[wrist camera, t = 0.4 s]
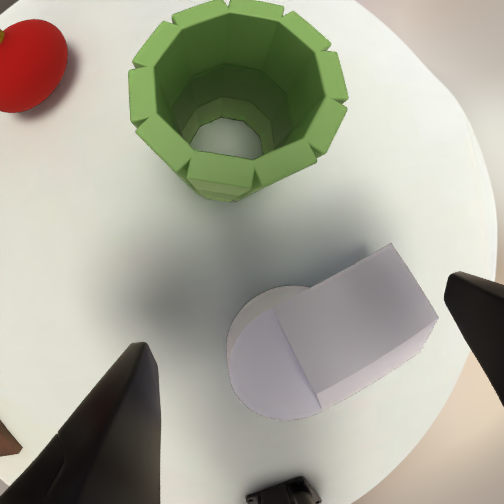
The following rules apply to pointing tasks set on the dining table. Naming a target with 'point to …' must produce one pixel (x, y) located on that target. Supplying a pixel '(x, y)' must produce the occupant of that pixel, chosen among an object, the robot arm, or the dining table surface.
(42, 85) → the christmas ornament
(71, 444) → the robot arm
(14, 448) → the wooden base
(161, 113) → the green ribbed pen cup
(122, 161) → the dining table surface
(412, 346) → the wedge on round base
